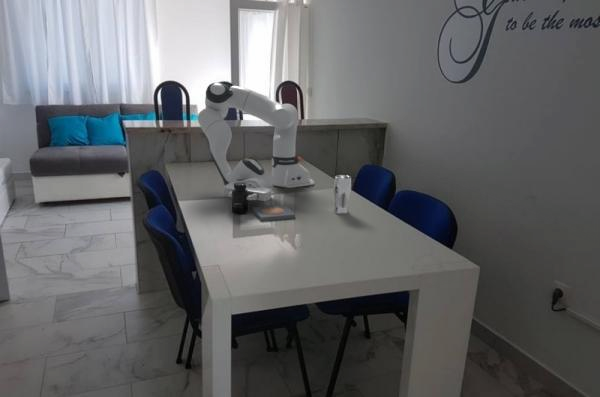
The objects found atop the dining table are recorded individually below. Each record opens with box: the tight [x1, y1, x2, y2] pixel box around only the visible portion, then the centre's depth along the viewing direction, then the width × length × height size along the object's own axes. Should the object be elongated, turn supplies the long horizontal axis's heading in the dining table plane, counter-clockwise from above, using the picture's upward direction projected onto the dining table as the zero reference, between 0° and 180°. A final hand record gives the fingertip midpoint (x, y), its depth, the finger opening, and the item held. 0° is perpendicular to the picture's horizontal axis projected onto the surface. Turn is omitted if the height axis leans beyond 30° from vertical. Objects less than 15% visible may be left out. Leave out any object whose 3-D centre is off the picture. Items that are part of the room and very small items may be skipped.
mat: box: [251, 204, 296, 222], centre depth 189 cm, size 14×13×2 cm
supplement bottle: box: [230, 182, 249, 215], centre depth 189 cm, size 7×7×12 cm
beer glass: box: [333, 174, 352, 215], centre depth 193 cm, size 7×7×15 cm
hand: (239, 197), depth 188 cm, fingers closed on supplement bottle, 7 cm apart
